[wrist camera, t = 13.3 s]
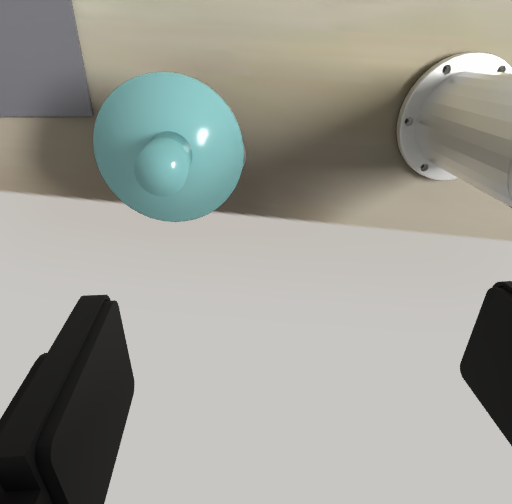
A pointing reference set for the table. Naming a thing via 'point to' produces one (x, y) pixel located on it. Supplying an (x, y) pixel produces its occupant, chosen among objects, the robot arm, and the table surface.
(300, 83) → the table surface
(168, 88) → the lid
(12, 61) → the mat
